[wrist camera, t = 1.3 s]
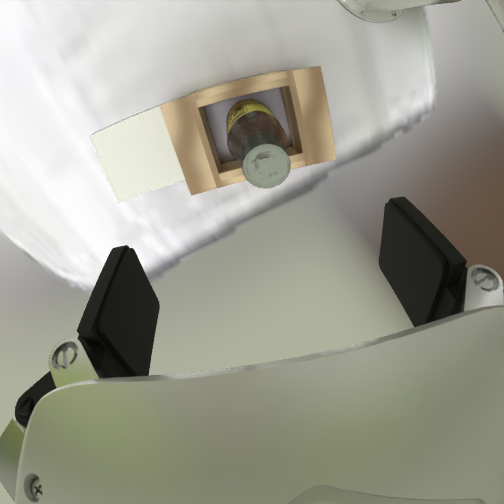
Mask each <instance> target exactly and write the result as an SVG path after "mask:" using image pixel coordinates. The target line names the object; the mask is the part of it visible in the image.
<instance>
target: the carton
mask: <svg viewBox="0 0 504 504" xmlns="http://www.w3.org/2000/svg"><path fill="white" fill-rule="evenodd" d="M278 87H280V91H281V95H282V99H283V104H284V108H285V113H286V117H287V122H288V126H289V131H290V136H291V141H292V147H287V148H286V151H287V153H288V155H289V158H290V161H291V167H290V169H294V168H299V167H303V166H308V165H312V164H317V163H322V162H326V161H331V160H336V154H335V147H334V140H333V133H332V127H331V120H330V114H329V108H328V103H327V97H326V92H325V87H324V82H323V77H322V72H321V67H320V66H319V67H311V68H304V69H298V70H281V71H275V72H270V73H265V74H260V75H256V76H251V77H247V78H242V79H238V80H234V81H230V82H227V83H223V84H219V85H215V86H212V87H208V88H205V89H202V90H198V91H195V92H193V93H191V94H190V95H188V96H186V97H182V98H179V99H177V100H174V101H171V102H168V103H165V104H162V105H160V109H161V112H162V115H163V118H164V121H165V124H166V127H167V130H168V133H169V135H170V138H171V141H172V144H173V147H174V150H175V152H176V155H177V158H178V161H179V164H180V166H181V169H182V172H183V175H184V177H185V180H186V183H187V185H188V188H189V191H190V193H191V195H195V194H198V193H202V192H205V191H209V190H212V189H216V188H219V187H223V186H226V185H230V184H234V183H238V182H241V181H245V180H247V179H246V178H245V176H244V174H243V171H242V168H241V162H240V161H238V160H235V161H231V162H227V163H224V164H221V162H220V158H219V155H218V152H217V149H216V145H215V142H214V139H213V136H212V132H211V129H210V126H209V123H208V119H207V116H206V113H205V110H204V106H205V105H209V104H212V103H216V102H219V101H223V100H226V99H230V98H234V97H238V96H242V95H246V94H250V93H255V92H259V91H264V90H268V89H273V88H278Z"/></svg>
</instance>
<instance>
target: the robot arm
mask: <svg viewBox="0 0 504 504" xmlns="http://www.w3.org/2000/svg"><path fill="white" fill-rule="evenodd" d="M458 1H460V0H339V2H340V3H341V4H342V5H343V6H344V7H345V8H346V9H347V10H349V11H350V12H351V13H353V14H354V15H356V16H357V17H360V18H362V19H364V20H367V21H371V22H378V23H379V22H388V21H392V20H394V19H396V18H398V17H399V16H400V15H401V14H402V13H403V11H404V9H406V8H412V7H419V6H425V5H433V4H442V3H452V2H458ZM486 2H487V4H488V5H489V7H490V9H491V10H492V12H493V14H494V16H495V17H496V19H497V21H498V23H499V24H500V27H501V28H502V30H503V32H504V0H486ZM360 12H361V13H362V14H361V13H360ZM466 262H467V261H466V259H465V258H464V257H463V256H462V255H461V254H460V253H459V252H458V250H457V249H456V248H455V247H454V246H453V245H452V244H451V243H450V242H449V241H448V239H447V238H446V237H445V236H444V235H443V234H442V233H441V232H440V231H439V230H438V229H437V228H436V227H435V226H434V225H433V224H432V223H431V222H430V221H429V220H428V219H427V218H426V217H425V216H424V215H423V214H422V213H421V212H420V211H419V210H418V209H417V208H416V207H415V206H414V205H413V204H412V203H411V202H409V201H408V200H407V199H406V198H405V197H398V198H391V199H390V200H389V201H388V203H386V204H385V210H384V221H383V230H382V240H381V247H380V256H379V266H380V269H381V271H382V272H383V274H384V275H385V277H386V279H387V280H388V282H389V283H390V285H391V287H392V289H393V290H394V292H395V294H396V295H397V297H398V299H399V301H400V302H401V304H402V306H403V307H404V309H405V311H406V313H407V315H408V317H409V318H410V320H411V322H412V324H413V325H414V328H411V329H408V330H404V331H401V332H398V333H394V334H391V335H388V336H384V337H380V338H377V339H373V340H369V341H365V342H362V343H358V344H354V345H350V346H345V347H341V348H337V349H333V350H328V351H324V352H320V353H315V354H310V355H305V356H300V357H295V358H290V359H284V360H279V361H273V362H267V363H261V364H254V365H247V366H240V367H233V368H226V369H218V370H210V371H200V372H190V373H179V374H166V375H152V376H149V368H150V362H151V354H152V349H153V342H154V337H155V331H156V325H157V319H158V314H159V301H158V298H157V297H156V294H155V292H154V291H153V289H152V286H151V284H150V282H149V280H148V278H147V276H146V274H145V272H144V270H143V268H142V265H141V263H140V261H139V259H138V257H137V255H136V252H135V250H134V249H133V248H129V247H128V246H127V245H125V246H120V247H116V248H113V249H112V250H111V252H110V254H109V256H108V258H107V261H106V263H105V265H104V267H103V269H102V271H101V273H100V276H99V278H98V280H97V282H96V285H95V287H94V289H93V292H92V294H91V297H90V299H89V301H88V303H87V306H86V308H85V311H84V313H83V316H82V319H81V321H80V324H79V327H78V329H77V332H78V333H79V336H78V339H76V338H68V339H64V340H63V341H61V342H59V343H58V344H57V345H56V346H55V347H54V349H53V350H52V352H51V354H50V356H49V368H50V371H49V372H48V373H47V374H46V375H44V376H43V377H42V378H41V379H40V380H39V381H37V382H36V383H35V384H34V385H33V386H32V387H31V388H30V389H28V390H27V391H26V392H25V393H24V394H23V395H22V396H21V397H20V398H19V399H18V401H17V404H16V407H15V417H16V421H15V420H14V419H12V420H11V421H10V423H9V424H8V426H7V427H6V429H5V430H4V432H3V433H2V435H1V437H0V482H1V483H2V485H3V486H4V488H5V489H6V490H7V492H8V493H9V495H10V496H11V498H12V499H13V500H14V502H15V504H504V289H503V283H502V279H501V278H500V276H499V275H498V274H497V273H496V272H495V271H494V270H493V269H491V268H490V267H487V266H484V265H474V266H471V267H470V268H469V269H467V268H466V266H465V265H466Z"/></svg>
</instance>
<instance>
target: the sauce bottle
mask: <svg viewBox="0 0 504 504" xmlns="http://www.w3.org/2000/svg"><path fill="white" fill-rule="evenodd" d="M226 122H227V145H228V149H229V151H230V153H231V154H232V155H233V156H234V157H235V158H236V159H237V160H238V161H240V162H241V168H242V171H243V174H244V176H245V178H246V179H247V180H248V181H249V182H250V183H251V184H253V185H254V186H257V187H259V188H271V187H275V186H277V185H279V184H281V183H282V182H283V181H284V180H285V179H286V178H287V176H288V174H289V172H290V167H291V161H290V158H289V155H288V153H287V151H286V147H287V146H286V144H287V143H286V135H285V132H284V130H283V128H282V126H281V124H280V123H279V121H278V120H277V119H276V118H275V116H274V115H273V114H272V113H271V112H270V110H269V109H268V108H267V107H266V106H265V105H264V104H262V103H260V102H258V101H255V100H244V101H241V102H238V103H236V104H235V105H234V106H233V107H232V108H231V109H230V111H229V113H228V116H227V121H226Z"/></svg>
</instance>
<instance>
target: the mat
mask: <svg viewBox="0 0 504 504" xmlns="http://www.w3.org/2000/svg"><path fill="white" fill-rule="evenodd" d="M90 139H91V141H92V144H93V146H94V149H95V151H96V153H97V156H98V158H99V161H100V163H101V165H102V168H103V170H104V172H105V174H106V177H107V179H108V181H109V183H110V186H111V188H112V190H113V192H114V194H115V196H116V198H117V201H118V203H119V202H122V201H125V200H128V199H130V198H133V197H136V196H139V195H142V194H145V193H147V192H150V191H153V190H156V189H159V188H162V187H165V186H168V185H171V184H175V183H178V182H181V181H184V180H185V177H184V175H183V172H182V169H181V166H180V164H179V161H178V158H177V155H176V152H175V150H174V147H173V144H172V141H171V138H170V135H169V133H168V130H167V127H166V124H165V121H164V118H163V115H162V112H161V109H160V106H157V107H155V108H152V109H150V110H147V111H144V112H142V113H139V114H137V115H135V116H132V117H130V118H127V119H125V120H123V121H120V122H118V123H116V124H114V125H111V126H109V127H107V128H105V129H103V130H101V131H99V132H97V133H95V134H92V135H91V136H90Z"/></svg>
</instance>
